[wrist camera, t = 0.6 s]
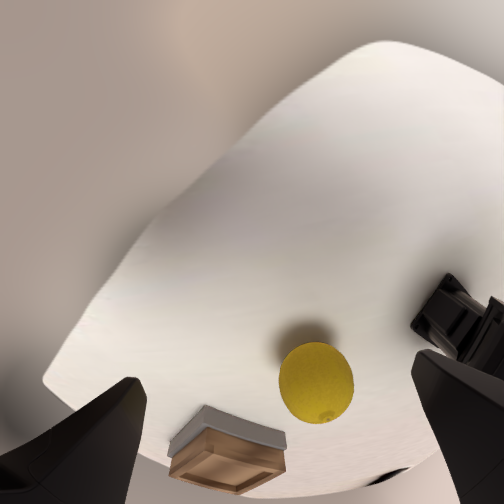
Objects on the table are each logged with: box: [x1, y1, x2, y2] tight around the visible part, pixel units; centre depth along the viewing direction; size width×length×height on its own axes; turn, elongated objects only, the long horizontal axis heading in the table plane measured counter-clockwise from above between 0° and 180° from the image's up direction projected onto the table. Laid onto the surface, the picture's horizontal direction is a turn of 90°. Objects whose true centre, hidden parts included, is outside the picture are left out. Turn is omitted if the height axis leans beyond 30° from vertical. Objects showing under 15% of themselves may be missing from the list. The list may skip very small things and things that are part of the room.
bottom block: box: [167, 405, 287, 458], centre depth 25 cm, size 10×10×3 cm
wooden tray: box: [169, 427, 286, 495], centre depth 22 cm, size 9×9×3 cm
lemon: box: [279, 342, 354, 424], centre depth 18 cm, size 6×6×8 cm
